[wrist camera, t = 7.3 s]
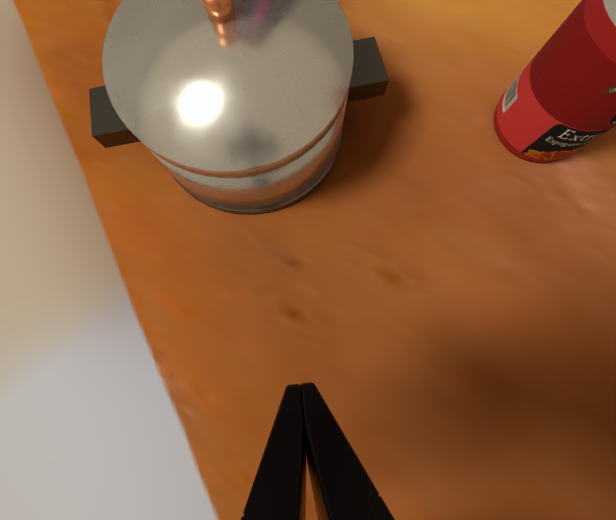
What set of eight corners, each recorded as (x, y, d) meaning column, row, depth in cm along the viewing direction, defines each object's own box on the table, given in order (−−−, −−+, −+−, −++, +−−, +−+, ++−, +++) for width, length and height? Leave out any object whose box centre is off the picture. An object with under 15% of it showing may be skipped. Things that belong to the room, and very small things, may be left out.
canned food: (518, 178, 25) (672, 71, 15) (474, 104, 27) (583, -42, 16) (594, 148, 26) (796, 24, 15) (546, 78, 27) (699, -80, 17)
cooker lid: (375, 151, 19) (386, 128, 16) (130, 200, 18) (101, 183, 16) (309, -102, 22) (309, -155, 19) (94, -67, 21) (65, -118, 19)
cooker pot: (391, 187, 25) (416, 146, 19) (141, 238, 24) (88, 211, 18) (347, 38, 28) (356, -36, 23) (126, 78, 28) (76, 12, 22)
